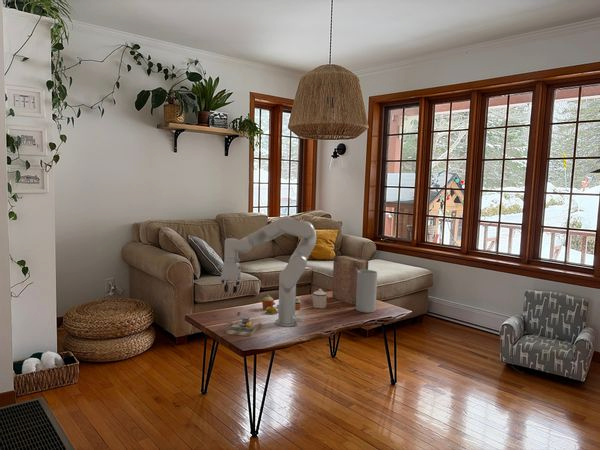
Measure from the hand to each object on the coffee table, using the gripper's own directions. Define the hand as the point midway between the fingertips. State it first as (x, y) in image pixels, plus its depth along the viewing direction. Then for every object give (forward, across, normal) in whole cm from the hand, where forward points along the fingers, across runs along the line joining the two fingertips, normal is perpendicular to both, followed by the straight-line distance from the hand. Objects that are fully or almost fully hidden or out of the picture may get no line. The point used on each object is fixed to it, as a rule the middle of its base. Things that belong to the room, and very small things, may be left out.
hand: (230, 292), depth 261 cm
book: (+18, -59, -70) cm, 93 cm away
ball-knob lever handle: (+15, -10, +5) cm, 19 cm away
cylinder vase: (+18, -72, -51) cm, 90 cm away
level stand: (+17, -12, +10) cm, 23 cm away
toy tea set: (+18, -20, -34) cm, 44 cm away
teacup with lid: (+18, -41, -50) cm, 67 cm away
